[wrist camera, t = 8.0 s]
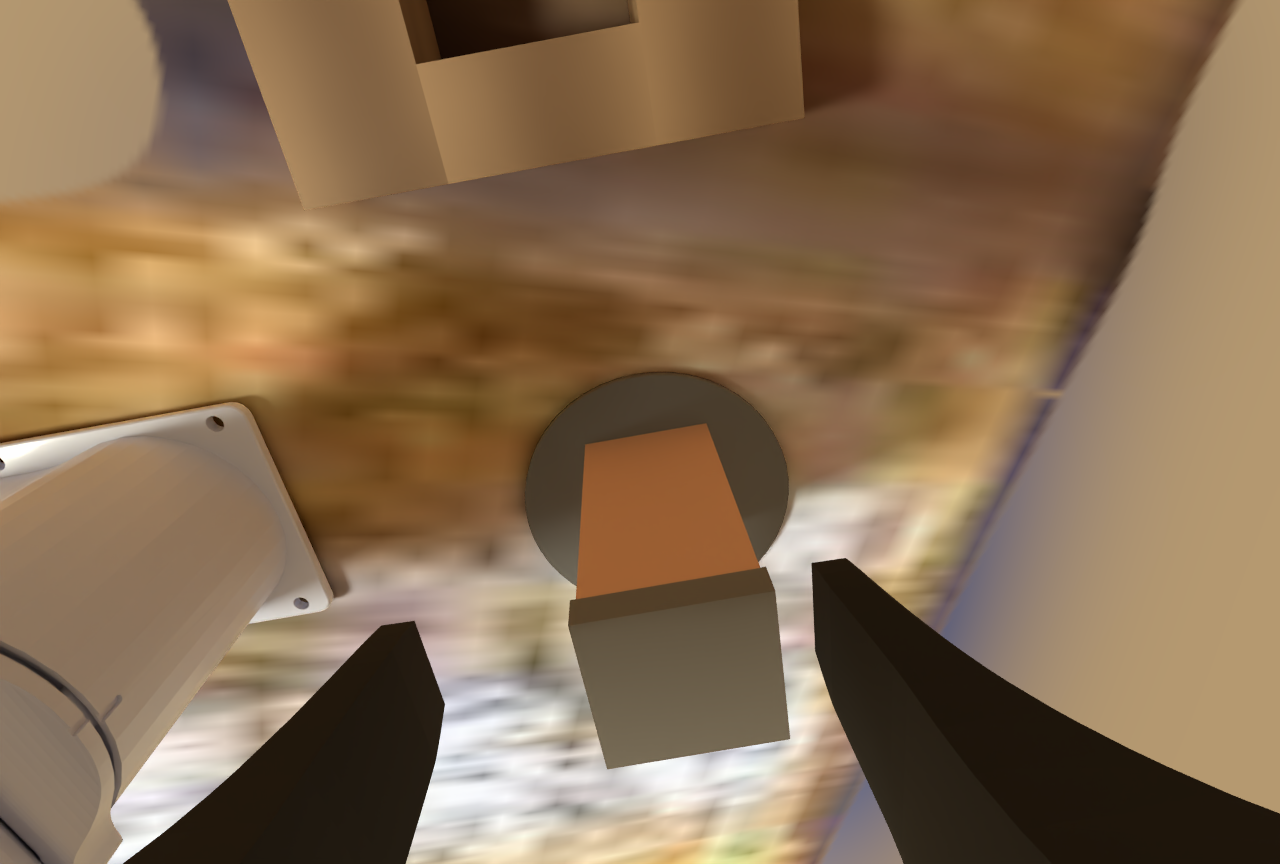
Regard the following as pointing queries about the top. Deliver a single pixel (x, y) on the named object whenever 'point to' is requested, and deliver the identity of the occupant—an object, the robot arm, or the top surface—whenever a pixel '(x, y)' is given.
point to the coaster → (641, 411)
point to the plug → (672, 605)
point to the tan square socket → (506, 89)
